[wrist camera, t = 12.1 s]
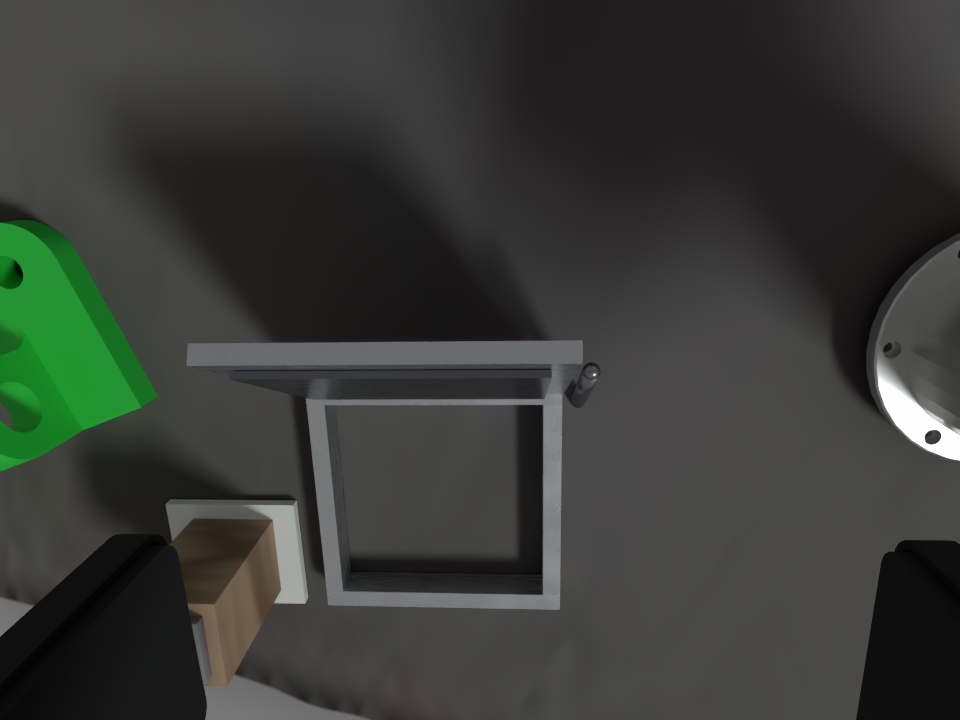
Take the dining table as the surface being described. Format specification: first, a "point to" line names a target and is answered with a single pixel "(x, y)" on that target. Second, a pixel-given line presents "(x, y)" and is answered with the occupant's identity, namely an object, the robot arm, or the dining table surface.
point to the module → (227, 588)
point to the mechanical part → (57, 346)
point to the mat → (275, 510)
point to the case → (417, 381)
